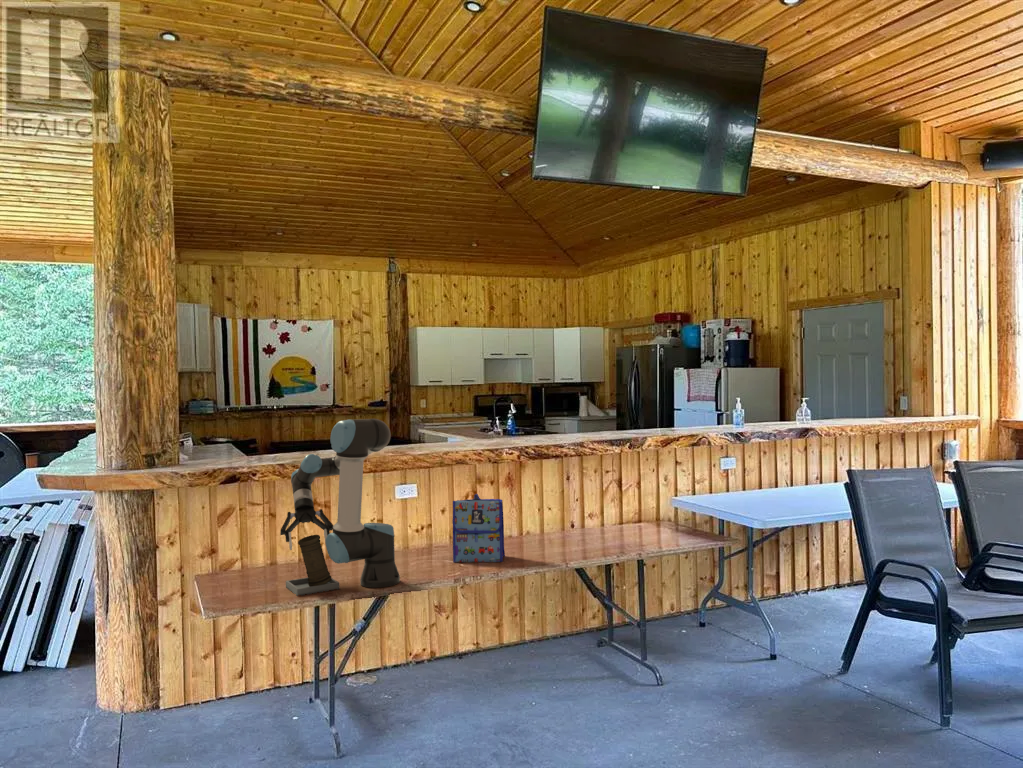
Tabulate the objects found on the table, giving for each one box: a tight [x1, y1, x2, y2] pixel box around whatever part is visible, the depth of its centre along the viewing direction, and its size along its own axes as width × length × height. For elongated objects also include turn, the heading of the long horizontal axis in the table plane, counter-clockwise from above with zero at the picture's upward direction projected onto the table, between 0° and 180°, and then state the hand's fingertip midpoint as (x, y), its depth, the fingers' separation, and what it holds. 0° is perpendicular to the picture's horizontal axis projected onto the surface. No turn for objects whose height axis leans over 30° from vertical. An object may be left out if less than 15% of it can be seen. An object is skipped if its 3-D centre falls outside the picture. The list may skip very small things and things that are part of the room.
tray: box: [285, 576, 341, 597], centre depth 287 cm, size 16×16×2 cm
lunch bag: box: [451, 493, 506, 563], centre depth 329 cm, size 22×14×29 cm, turn 86°
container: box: [297, 534, 332, 587], centre depth 288 cm, size 9×9×18 cm
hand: (309, 546), depth 291 cm, fingers open, 13 cm apart
